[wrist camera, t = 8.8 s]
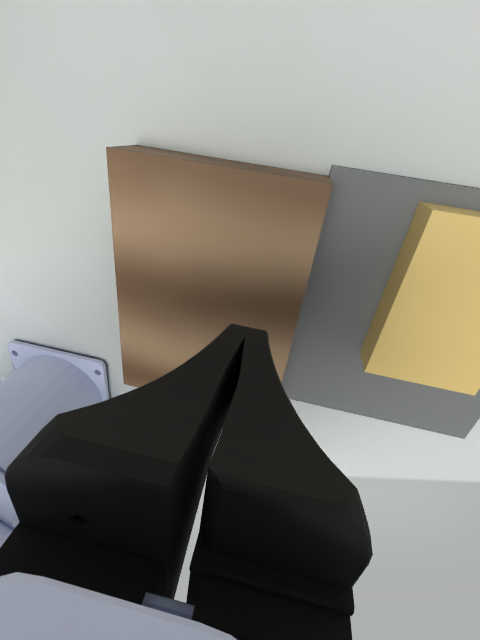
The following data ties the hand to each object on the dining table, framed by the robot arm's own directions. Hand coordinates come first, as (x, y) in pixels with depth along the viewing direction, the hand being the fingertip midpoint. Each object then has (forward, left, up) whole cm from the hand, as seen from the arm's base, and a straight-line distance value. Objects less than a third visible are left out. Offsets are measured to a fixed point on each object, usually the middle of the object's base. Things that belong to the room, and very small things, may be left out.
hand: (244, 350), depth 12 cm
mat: (-2, -9, -9) cm, 12 cm away
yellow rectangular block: (0, -9, -6) cm, 11 cm away
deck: (-2, +3, -9) cm, 9 cm away
